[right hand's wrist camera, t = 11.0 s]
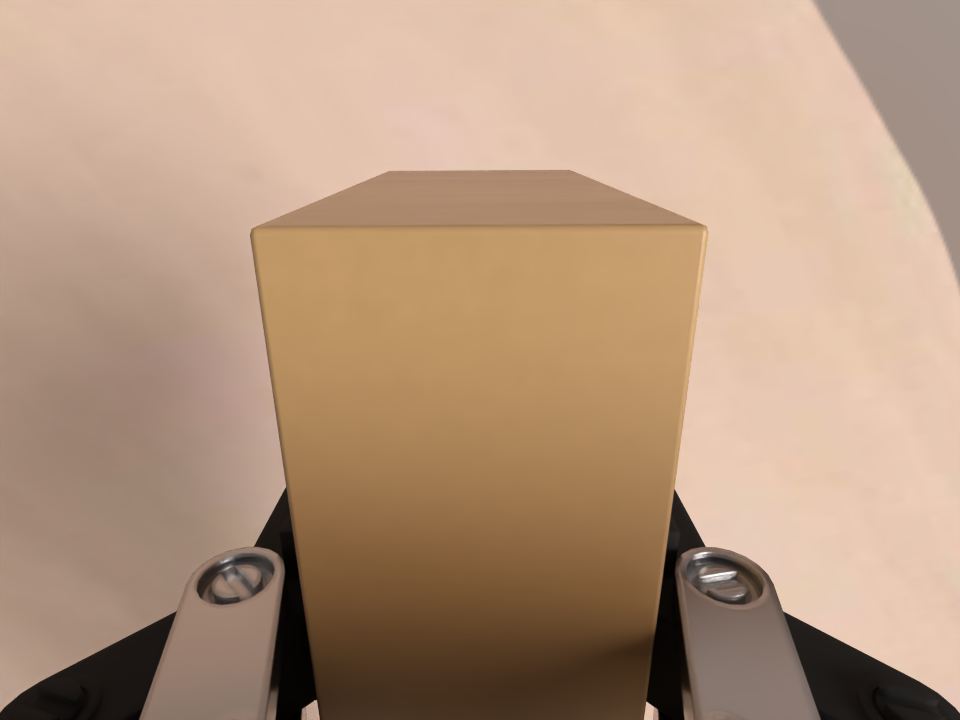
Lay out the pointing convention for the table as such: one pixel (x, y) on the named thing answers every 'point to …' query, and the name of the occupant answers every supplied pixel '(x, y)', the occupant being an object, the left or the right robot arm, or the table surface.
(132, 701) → the right robot arm
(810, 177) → the table surface
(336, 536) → the beam
